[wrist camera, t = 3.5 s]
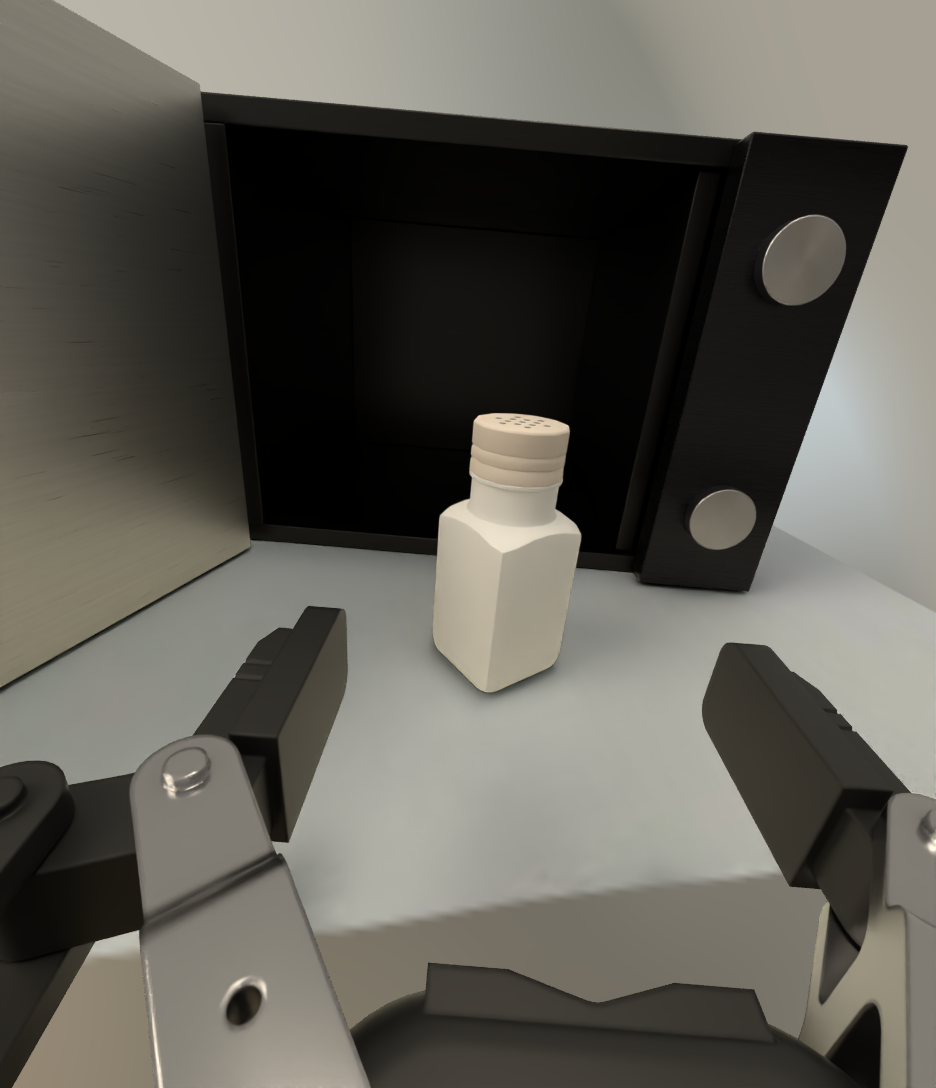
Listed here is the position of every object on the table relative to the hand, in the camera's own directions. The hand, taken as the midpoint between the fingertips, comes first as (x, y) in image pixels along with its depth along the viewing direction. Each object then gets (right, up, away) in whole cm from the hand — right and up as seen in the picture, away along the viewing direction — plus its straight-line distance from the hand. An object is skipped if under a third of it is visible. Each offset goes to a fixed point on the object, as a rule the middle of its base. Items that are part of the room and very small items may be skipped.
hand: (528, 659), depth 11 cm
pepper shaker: (0, -2, +10) cm, 10 cm away
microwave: (0, +6, +27) cm, 27 cm away
